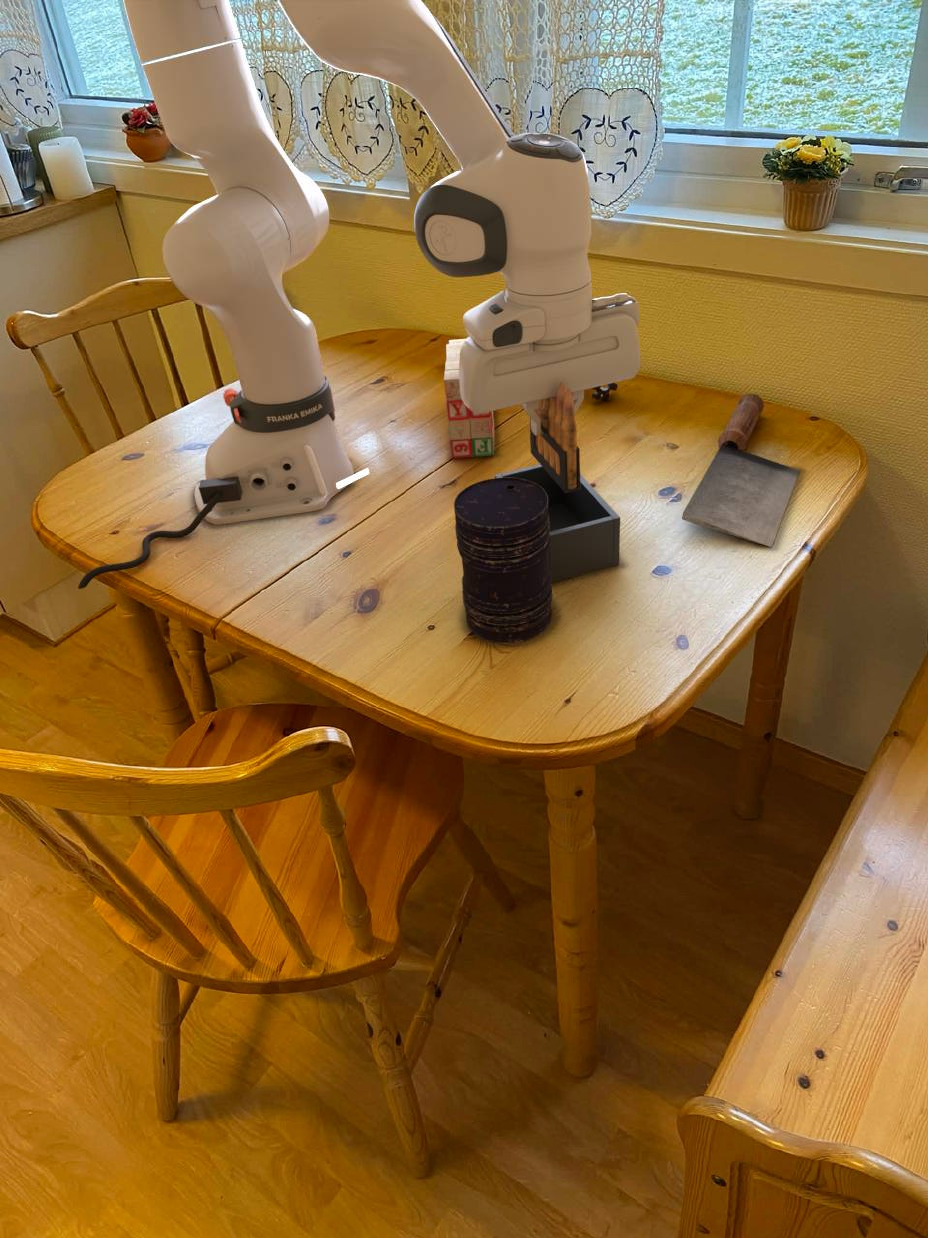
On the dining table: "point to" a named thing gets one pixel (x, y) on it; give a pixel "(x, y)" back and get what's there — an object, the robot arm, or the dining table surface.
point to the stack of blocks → (465, 413)
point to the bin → (576, 526)
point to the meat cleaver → (742, 484)
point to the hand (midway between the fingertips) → (552, 429)
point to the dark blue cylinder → (505, 558)
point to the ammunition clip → (558, 440)
